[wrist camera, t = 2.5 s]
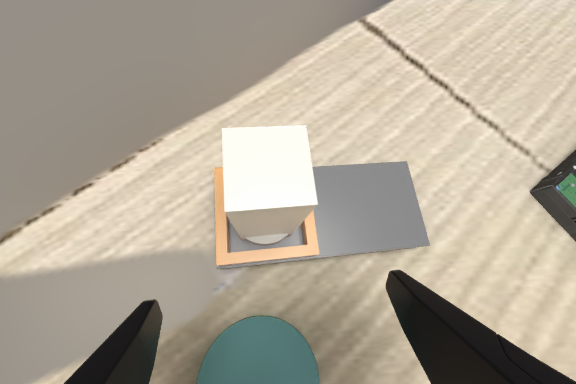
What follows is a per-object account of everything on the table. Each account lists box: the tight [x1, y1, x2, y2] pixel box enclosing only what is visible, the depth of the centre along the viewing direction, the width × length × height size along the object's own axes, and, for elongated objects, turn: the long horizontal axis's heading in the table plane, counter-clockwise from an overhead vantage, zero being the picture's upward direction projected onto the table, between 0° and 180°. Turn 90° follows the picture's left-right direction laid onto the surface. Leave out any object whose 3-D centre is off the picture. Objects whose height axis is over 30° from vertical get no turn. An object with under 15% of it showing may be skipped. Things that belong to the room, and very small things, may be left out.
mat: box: [197, 316, 319, 384], centre depth 18 cm, size 9×9×1 cm
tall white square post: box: [222, 125, 318, 245], centre depth 16 cm, size 5×5×10 cm
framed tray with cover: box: [214, 161, 430, 269], centre depth 21 cm, size 18×8×4 cm, turn 96°
